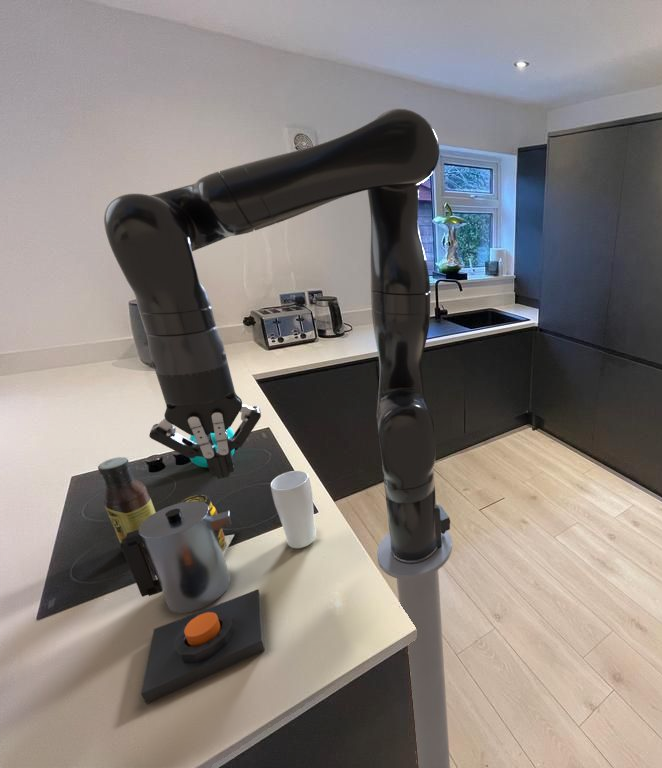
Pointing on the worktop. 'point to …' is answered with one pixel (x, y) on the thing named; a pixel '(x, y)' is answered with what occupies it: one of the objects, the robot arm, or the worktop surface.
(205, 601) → the kettle
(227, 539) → the condiment
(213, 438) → the turquoise yo-yo
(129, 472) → the sauce bottle
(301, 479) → the drinking glass
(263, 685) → the worktop surface
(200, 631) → the button
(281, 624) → the worktop surface
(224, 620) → the black base plate
